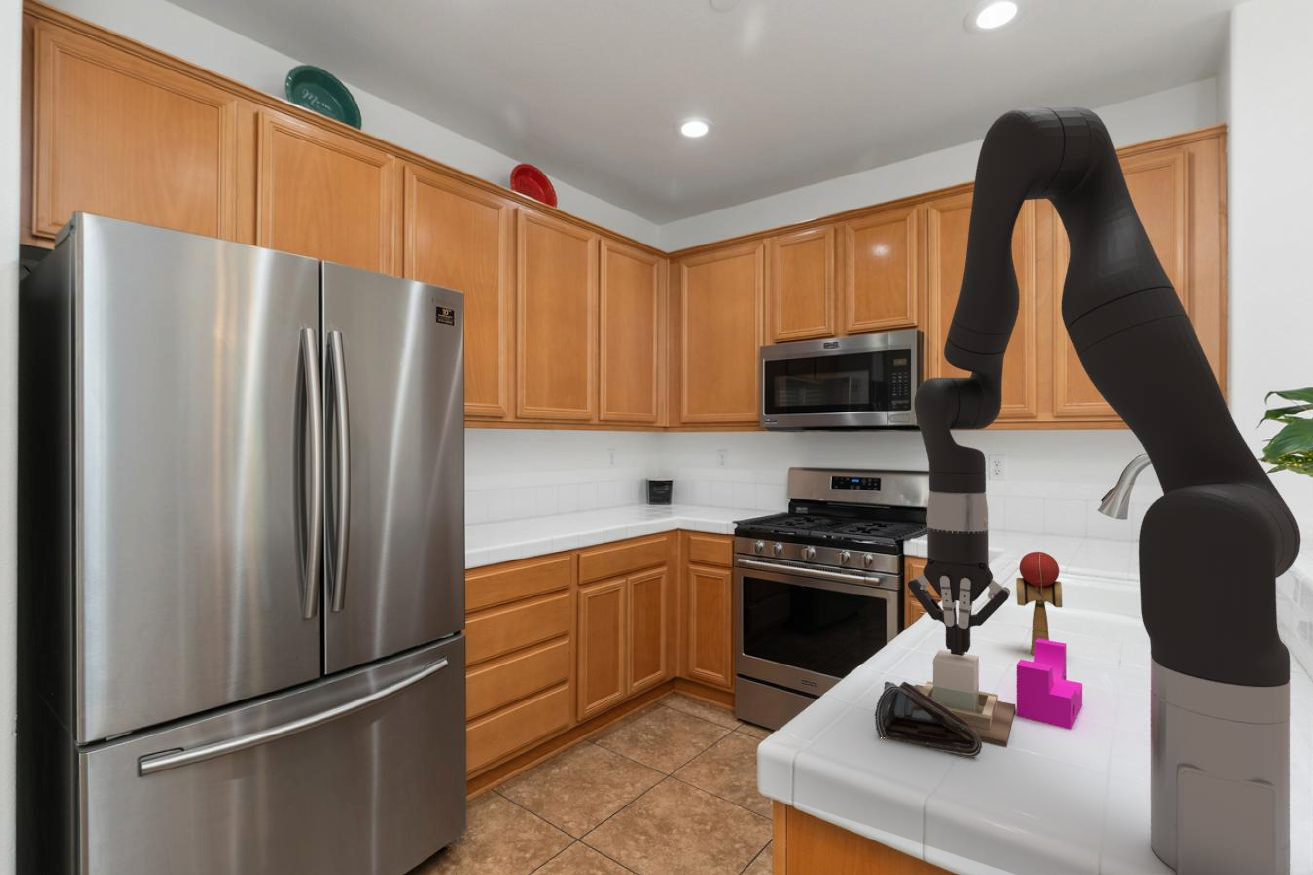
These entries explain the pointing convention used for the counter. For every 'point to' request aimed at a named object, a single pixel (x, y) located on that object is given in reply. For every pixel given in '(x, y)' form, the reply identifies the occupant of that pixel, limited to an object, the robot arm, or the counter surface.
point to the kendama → (1039, 590)
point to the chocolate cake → (923, 722)
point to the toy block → (1048, 687)
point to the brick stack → (956, 680)
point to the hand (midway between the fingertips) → (957, 653)
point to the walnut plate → (985, 716)
